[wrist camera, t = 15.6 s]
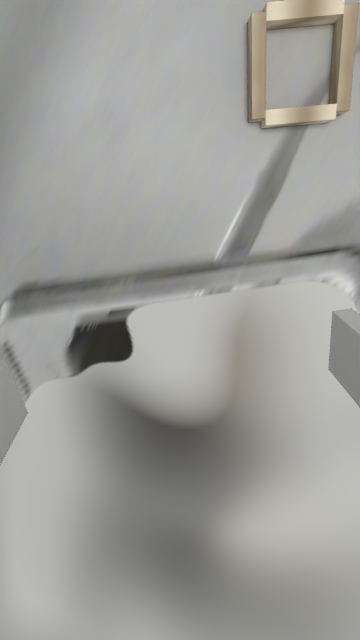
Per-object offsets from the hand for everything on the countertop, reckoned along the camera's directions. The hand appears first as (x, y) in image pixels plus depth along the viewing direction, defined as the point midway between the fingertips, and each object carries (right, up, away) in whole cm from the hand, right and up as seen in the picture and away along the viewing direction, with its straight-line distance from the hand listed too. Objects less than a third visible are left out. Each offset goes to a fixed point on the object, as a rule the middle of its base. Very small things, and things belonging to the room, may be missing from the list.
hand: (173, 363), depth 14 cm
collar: (+13, +28, +22) cm, 38 cm away
